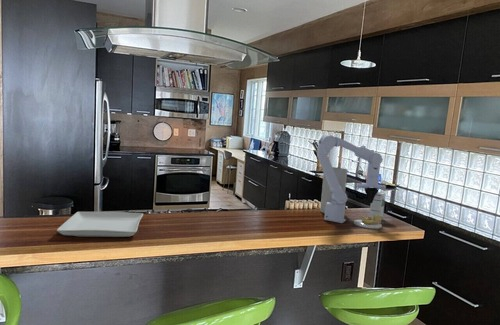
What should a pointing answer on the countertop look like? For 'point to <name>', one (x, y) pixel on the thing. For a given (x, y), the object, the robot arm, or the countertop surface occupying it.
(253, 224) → the countertop surface
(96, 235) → the square plate
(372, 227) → the cap plate
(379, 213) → the syrup box
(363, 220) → the gold lugged disc
